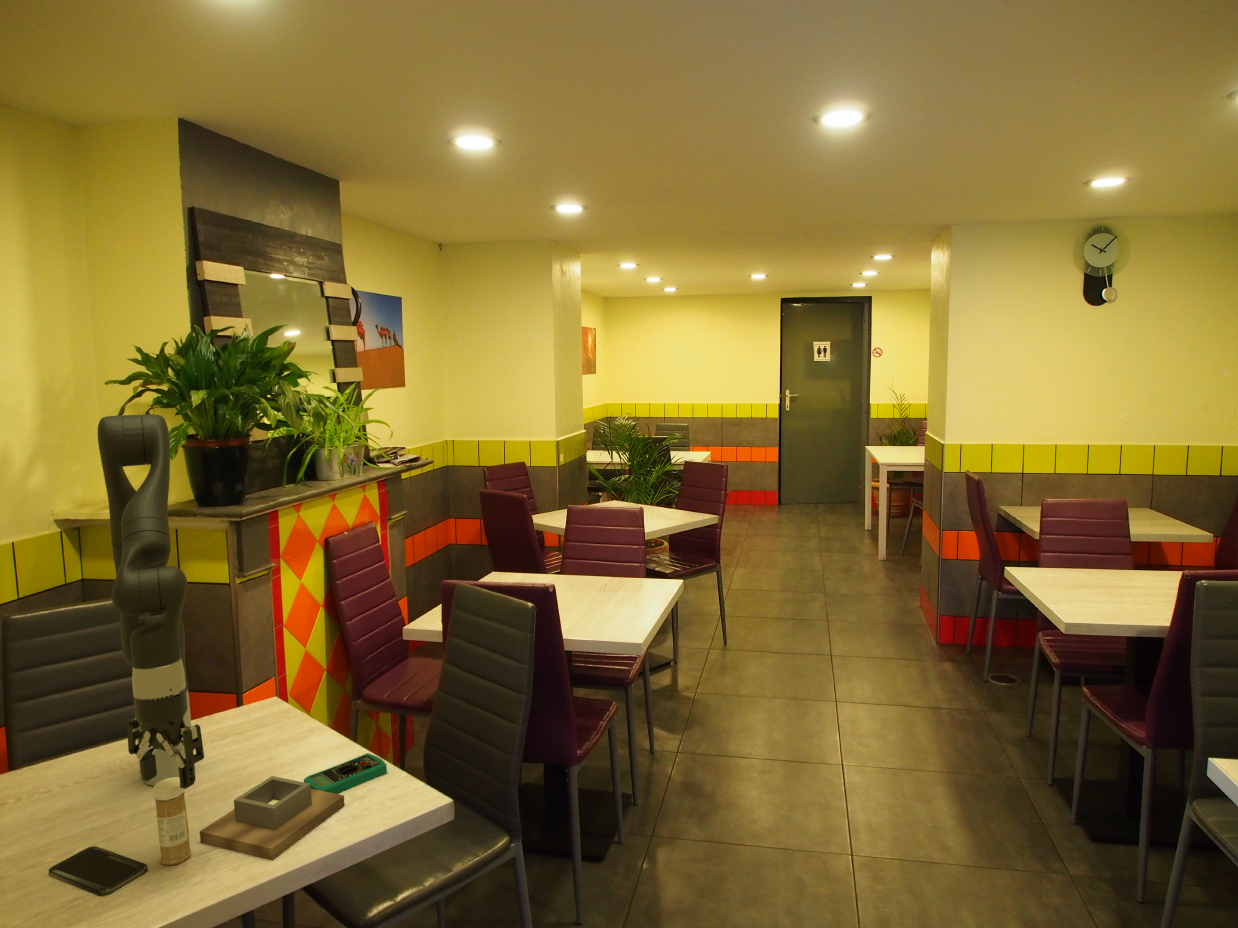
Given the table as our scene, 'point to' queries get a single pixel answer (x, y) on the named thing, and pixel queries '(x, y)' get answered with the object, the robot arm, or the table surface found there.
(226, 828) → the socket board
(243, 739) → the table surface
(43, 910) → the table surface
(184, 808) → the sprinkles bottle
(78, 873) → the phone
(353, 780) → the digital multimeter
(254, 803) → the socket sleeve
